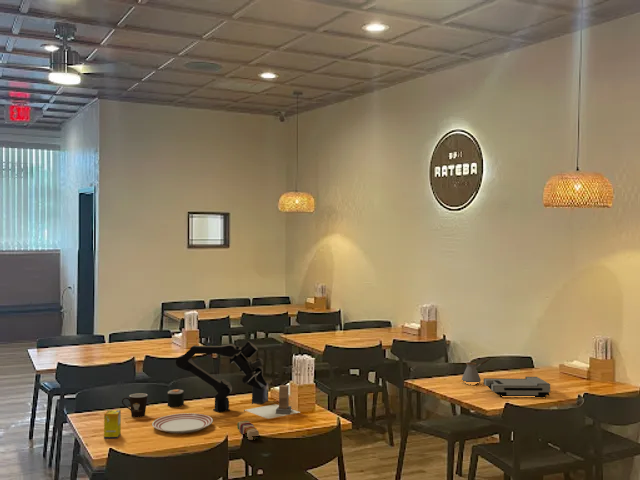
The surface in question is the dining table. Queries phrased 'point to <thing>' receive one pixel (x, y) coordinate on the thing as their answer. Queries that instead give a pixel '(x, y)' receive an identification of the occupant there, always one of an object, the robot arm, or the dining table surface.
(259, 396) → the small box
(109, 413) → the supplement box
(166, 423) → the dinner plate
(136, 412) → the coffee mug
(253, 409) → the board
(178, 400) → the sushi
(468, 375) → the coffee pot
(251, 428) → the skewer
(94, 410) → the dining table surface
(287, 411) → the block
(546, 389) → the game console
